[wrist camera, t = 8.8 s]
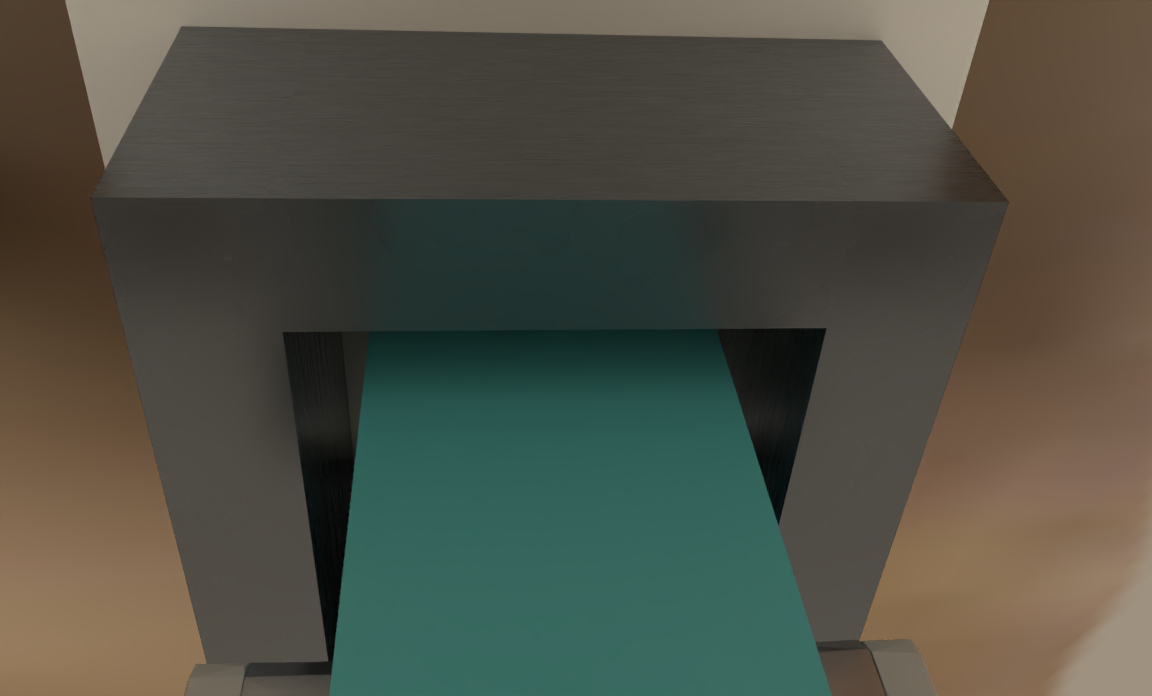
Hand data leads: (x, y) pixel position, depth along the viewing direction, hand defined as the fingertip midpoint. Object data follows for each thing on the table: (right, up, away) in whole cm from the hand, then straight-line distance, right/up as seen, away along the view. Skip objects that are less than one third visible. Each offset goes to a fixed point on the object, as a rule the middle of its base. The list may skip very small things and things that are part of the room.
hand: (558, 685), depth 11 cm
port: (0, +4, +5) cm, 6 cm away
